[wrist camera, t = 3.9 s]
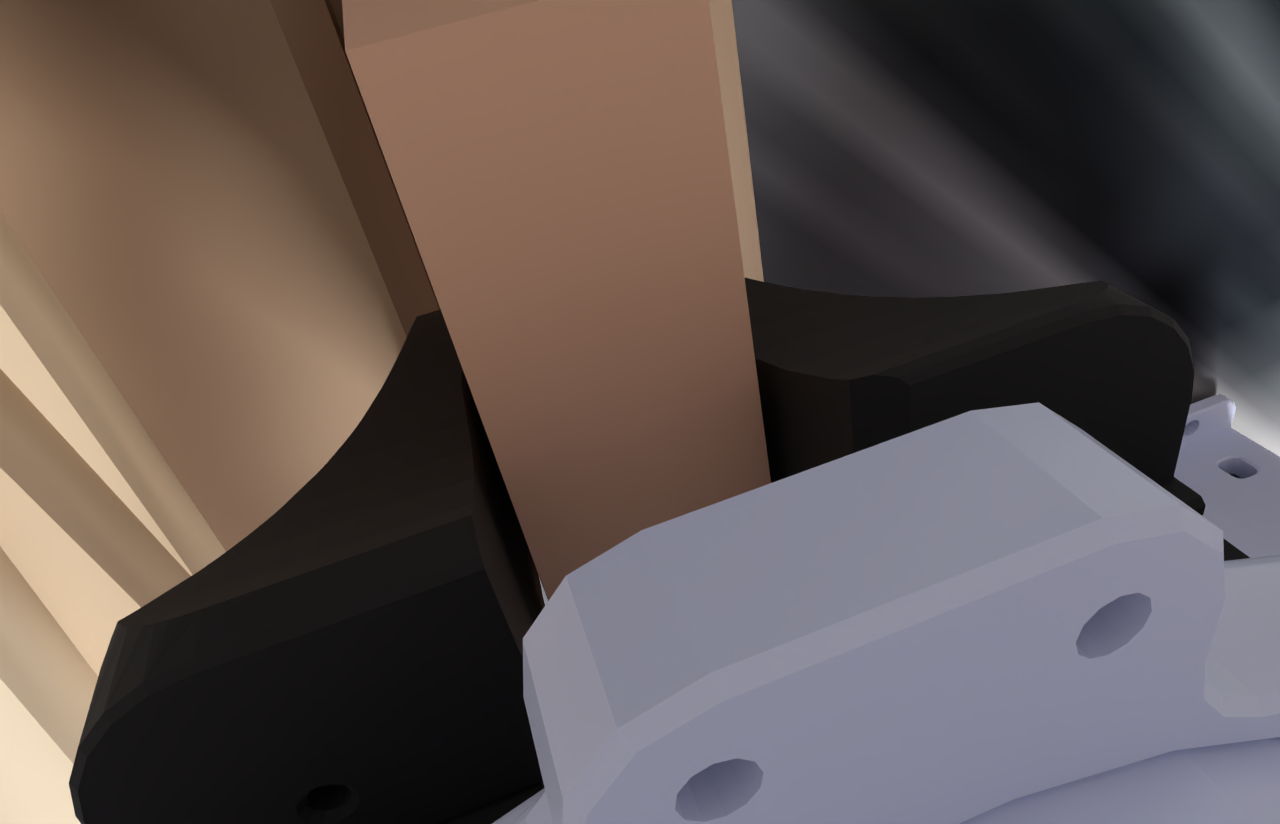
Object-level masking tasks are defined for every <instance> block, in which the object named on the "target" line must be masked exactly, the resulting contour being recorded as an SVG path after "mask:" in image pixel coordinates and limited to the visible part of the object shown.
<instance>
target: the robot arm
mask: <svg viewBox="0 0 1280 824" xmlns="http://www.w3.org/2000/svg"><path fill="white" fill-rule="evenodd" d="M745 285H746V293H747V301H748V308H749V316H750V324H751V332H752V339H753V347H754V355H755V363H756V370H757V378H758V386H759V393H760V401H761V409H762V417H763V424H764V432H765V440H766V448H767V455H768V463H769V471H770V479H771V483H770V484H767V485H765V486H762V487H759V488H756V489H754V490H751V491H748V492H745V493H743V494H740V495H737V496H734V497H732V498H729V499H726V500H723V501H721V502H718V503H715V504H712V505H710V506H707V507H704V508H701V509H699V510H696V511H693V512H690V513H688V514H685V515H682V516H679V517H676V518H674V519H671V520H668V521H665V522H663V523H660V524H657V525H654V526H652V527H649V528H646V529H643V530H641V531H639V532H638V533H636V534H634V535H633V536H631V537H629V538H628V539H626V540H624V541H623V542H621V543H619V544H618V545H616V546H614V547H613V548H611V549H609V550H608V551H606V552H604V553H603V554H601V555H600V556H598V557H596V558H595V559H593V560H591V561H590V562H588V563H586V564H585V565H583V566H581V567H580V568H578V569H576V570H575V571H573V572H571V573H570V574H568V575H566V576H565V578H564V579H563V581H562V582H561V584H560V585H559V586H558V588H557V589H556V591H555V592H554V594H553V595H552V597H551V598H550V600H549V601H548V602H547V604H546V605H545V604H544V600H543V596H542V590H541V585H540V580H539V574H538V571H537V569H536V566H535V563H534V561H533V558H532V555H531V553H530V550H529V547H528V544H527V542H526V539H525V536H524V534H523V531H522V528H521V525H520V523H519V520H518V517H517V515H516V512H515V509H514V507H513V504H512V501H511V498H510V496H509V493H508V490H507V488H506V485H505V482H504V479H503V477H502V474H501V471H500V469H499V466H498V463H497V461H496V458H495V455H494V452H493V450H492V447H491V444H490V442H489V439H488V436H487V433H486V431H485V428H484V425H483V423H482V420H481V417H480V414H479V412H478V409H477V406H476V404H475V401H474V398H473V396H472V393H471V390H470V387H469V385H468V382H467V379H466V377H465V374H464V371H463V368H462V366H461V363H460V360H459V358H458V355H457V352H456V350H455V347H454V344H453V341H452V339H451V336H450V333H449V331H448V328H447V325H446V322H445V320H444V317H443V314H442V312H441V309H440V310H437V311H433V312H430V313H427V314H424V315H420V316H417V317H416V319H415V321H414V323H413V325H412V326H411V328H410V330H409V333H408V335H407V337H406V339H405V342H404V344H403V346H402V348H401V350H400V353H399V355H398V357H397V359H396V361H395V363H394V365H393V367H392V369H391V371H390V373H389V375H388V377H387V379H386V380H385V382H384V384H383V386H382V388H381V390H380V391H379V393H378V394H377V396H376V398H375V399H374V401H373V402H372V404H371V406H370V407H369V409H368V410H367V412H366V414H365V415H364V417H363V418H362V420H361V421H360V423H359V424H358V425H357V427H356V428H355V429H354V431H353V432H352V433H351V435H350V436H349V437H348V439H347V440H346V441H345V442H344V443H343V445H342V446H341V447H340V448H339V449H338V450H337V452H336V453H335V454H334V455H333V456H332V458H331V459H330V460H329V461H328V462H327V463H326V464H325V465H324V467H323V468H322V469H321V470H320V471H319V472H318V473H317V474H316V475H315V476H314V477H313V478H312V479H311V480H310V481H308V482H307V483H306V484H305V485H304V486H303V487H302V488H301V489H300V490H299V491H298V492H297V493H296V494H295V495H294V496H293V497H292V498H291V499H290V500H289V501H288V502H287V503H286V504H285V505H283V506H282V507H281V508H280V509H279V510H278V511H277V512H276V513H275V514H274V515H272V516H271V517H270V518H269V519H268V520H266V521H265V522H264V523H263V524H261V525H260V526H259V527H258V528H256V529H255V530H254V531H253V532H252V533H250V534H249V535H248V536H247V537H245V538H244V539H243V540H241V541H240V542H239V543H237V544H236V545H235V546H233V547H232V548H230V549H229V550H228V551H226V552H225V553H224V554H222V555H221V556H220V557H218V558H217V559H216V560H214V561H213V562H211V563H210V564H208V565H207V566H206V567H204V568H203V569H201V570H200V571H198V572H197V573H195V574H193V575H192V576H190V577H189V578H187V579H186V580H184V581H182V582H181V583H179V584H178V585H176V586H174V587H173V588H171V589H170V590H168V591H167V592H165V593H163V594H162V595H160V596H159V597H157V598H155V599H154V600H152V601H151V602H149V603H148V604H146V605H144V606H143V607H141V608H140V609H138V610H136V611H135V612H133V613H131V614H130V615H128V616H126V617H124V618H123V619H121V620H119V621H118V622H117V624H116V627H115V630H114V632H113V635H112V637H111V640H110V643H109V646H108V649H107V652H106V654H105V657H104V660H103V663H102V666H101V669H100V672H99V676H98V679H97V683H96V686H95V690H94V693H93V696H92V700H91V703H90V707H89V710H88V714H87V717H86V721H85V724H84V728H83V731H82V735H81V738H80V742H79V745H78V749H77V753H76V757H75V761H74V764H73V768H72V772H71V776H70V780H69V788H70V792H71V797H72V802H73V807H74V812H75V816H76V818H77V819H78V820H79V822H80V823H81V824H1280V457H1279V456H1277V455H1276V454H1274V453H1272V452H1271V451H1269V450H1267V449H1266V448H1264V447H1262V446H1261V445H1259V444H1257V443H1256V442H1254V441H1252V440H1251V439H1249V438H1247V437H1245V436H1244V435H1242V434H1240V433H1239V432H1237V431H1235V430H1234V429H1232V428H1231V425H1232V421H1233V417H1234V414H1235V403H1234V401H1232V400H1231V399H1229V398H1227V397H1225V396H1223V395H1220V394H1219V395H1214V396H1211V397H1209V398H1206V399H1203V400H1201V401H1198V402H1196V403H1193V404H1191V399H1192V389H1193V379H1194V361H1193V356H1192V352H1191V347H1190V343H1189V339H1188V337H1187V336H1186V335H1185V333H1184V332H1183V331H1182V329H1181V328H1180V327H1179V325H1178V324H1177V323H1176V321H1175V320H1174V319H1173V318H1172V317H1170V316H1168V315H1166V314H1164V313H1162V312H1160V311H1158V310H1156V309H1155V308H1153V307H1151V306H1149V305H1147V304H1145V303H1143V302H1141V301H1140V300H1138V299H1136V298H1134V297H1132V296H1130V295H1128V294H1126V293H1124V292H1123V291H1121V290H1119V289H1117V288H1115V287H1113V286H1111V285H1109V284H1107V283H1106V282H1103V281H1095V282H1087V283H1080V284H1072V285H1065V286H1058V287H1050V288H1043V289H1035V290H1028V291H1021V292H1013V293H1004V294H991V295H975V296H960V297H935V298H899V297H867V296H853V295H841V294H834V293H826V292H818V291H810V290H802V289H796V288H791V287H785V286H780V285H776V284H771V283H767V282H762V281H758V280H753V279H749V278H745Z"/></svg>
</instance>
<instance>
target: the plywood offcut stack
mask: <svg viewBox="0 0 1280 824" xmlns="http://www.w3.org/2000/svg"><path fill="white" fill-rule="evenodd" d="M225 552H226V551H225V549H224V548H223V546H222V545H221V543H220V542H219V540H218V539H217V537H216V536H215V534H214V533H213V531H212V530H211V528H210V527H209V525H208V524H207V522H206V521H205V519H204V518H203V516H202V515H201V513H200V512H199V510H198V509H197V507H196V506H195V504H194V503H193V501H192V500H191V498H190V497H189V495H188V494H187V492H186V491H185V489H184V488H183V486H182V485H181V483H180V482H179V480H178V479H177V477H176V476H175V474H174V473H173V471H172V470H171V468H170V467H169V465H168V464H167V462H166V461H165V459H164V458H163V456H162V455H161V453H160V452H159V450H158V449H157V447H156V446H155V444H154V443H153V441H152V440H151V438H150V436H149V435H148V433H147V432H146V430H145V429H144V427H143V426H142V424H141V423H140V421H139V420H138V418H137V417H136V415H135V414H134V412H133V411H132V409H131V408H130V406H129V405H128V403H127V402H126V400H125V399H124V397H123V396H122V394H121V393H120V391H119V390H118V388H117V387H116V385H115V384H114V382H113V381H112V379H111V378H110V376H109V375H108V373H107V372H106V370H105V369H104V367H103V366H102V364H101V363H100V361H99V360H98V358H97V357H96V355H95V354H94V352H93V351H92V349H91V348H90V346H89V345H88V343H87V342H86V340H85V339H84V337H83V336H82V334H81V333H80V331H79V330H78V328H77V327H76V325H75V324H74V322H73V321H72V319H71V318H70V316H69V315H68V313H67V312H66V310H65V309H64V307H63V306H62V304H61V303H60V301H59V300H58V298H57V296H56V295H55V293H54V292H53V290H52V289H51V287H50V286H49V284H48V283H47V281H46V280H45V278H44V277H43V275H42V274H41V272H40V271H39V269H38V268H37V266H36V265H35V263H34V262H33V260H32V259H31V257H30V256H29V254H28V253H27V251H26V250H25V248H24V247H23V245H22V244H21V242H20V241H19V239H18V238H17V236H16V235H15V233H14V232H13V230H12V229H11V227H10V226H9V224H8V223H7V221H6V220H5V218H4V217H3V215H2V214H1V212H0V824H81V823H80V822H79V820H78V819H77V818H76V816H75V812H74V807H73V802H72V797H71V792H70V788H69V780H70V776H71V772H72V768H73V764H74V761H75V757H76V753H77V749H78V745H79V742H80V738H81V735H82V731H83V728H84V724H85V721H86V717H87V714H88V710H89V707H90V703H91V700H92V696H93V693H94V690H95V686H96V683H97V679H98V676H99V672H100V669H101V666H102V663H103V660H104V657H105V654H106V652H107V649H108V646H109V643H110V640H111V637H112V635H113V632H114V630H115V627H116V624H117V622H118V621H119V620H121V619H123V618H124V617H126V616H128V615H130V614H131V613H133V612H135V611H136V610H138V609H140V608H141V607H143V606H144V605H146V604H148V603H149V602H151V601H152V600H154V599H155V598H157V597H159V596H160V595H162V594H163V593H165V592H167V591H168V590H170V589H171V588H173V587H174V586H176V585H178V584H179V583H181V582H182V581H184V580H186V579H187V578H189V577H190V576H192V575H193V574H195V573H197V572H198V571H200V570H201V569H203V568H204V567H206V566H207V565H208V564H210V563H211V562H213V561H214V560H216V559H217V558H218V557H220V556H221V555H222V554H224V553H225Z"/></svg>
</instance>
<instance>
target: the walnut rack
mask: <svg viewBox="0 0 1280 824" xmlns="http://www.w3.org/2000/svg"><path fill="white" fill-rule="evenodd" d="M709 7H710V14H711V22H712V30H713V38H714V45H715V53H716V61H717V68H718V76H719V84H720V92H721V99H722V107H723V115H724V123H725V130H726V138H727V146H728V154H729V161H730V169H731V177H732V185H733V192H734V200H735V208H736V215H737V223H738V231H739V239H740V246H741V254H742V262H743V270H744V277H745V278H749V279H753V280H758V281H762V282H764V279H763V270H762V261H761V252H760V244H759V235H758V226H757V217H756V209H755V200H754V191H753V182H752V174H751V165H750V156H749V148H748V139H747V130H746V121H745V113H744V104H743V95H742V86H741V78H740V69H739V60H738V51H737V43H736V34H735V25H734V17H733V8H732V0H709ZM0 212H1V214H2V215H3V217H4V218H5V220H6V221H7V223H8V224H9V226H10V227H11V229H12V230H13V232H14V233H15V235H16V236H17V238H18V239H19V241H20V242H21V244H22V245H23V247H24V248H25V250H26V251H27V253H28V254H29V256H30V257H31V259H32V260H33V262H34V263H35V265H36V266H37V268H38V269H39V271H40V272H41V274H42V275H43V277H44V278H45V280H46V281H47V283H48V284H49V286H50V287H51V289H52V290H53V292H54V293H55V295H56V296H57V298H58V300H59V301H60V303H61V304H62V306H63V307H64V309H65V310H66V312H67V313H68V315H69V316H70V318H71V319H72V321H73V322H74V324H75V325H76V327H77V328H78V330H79V331H80V333H81V334H82V336H83V337H84V339H85V340H86V342H87V343H88V345H89V346H90V348H91V349H92V351H93V352H94V354H95V355H96V357H97V358H98V360H99V361H100V363H101V364H102V366H103V367H104V369H105V370H106V372H107V373H108V375H109V376H110V378H111V379H112V381H113V382H114V384H115V385H116V387H117V388H118V390H119V391H120V393H121V394H122V396H123V397H124V399H125V400H126V402H127V403H128V405H129V406H130V408H131V409H132V411H133V412H134V414H135V415H136V417H137V418H138V420H139V421H140V423H141V424H142V426H143V427H144V429H145V430H146V432H147V433H148V435H149V436H150V438H151V440H152V441H153V443H154V444H155V446H156V447H157V449H158V450H159V452H160V453H161V455H162V456H163V458H164V459H165V461H166V462H167V464H168V465H169V467H170V468H171V470H172V471H173V473H174V474H175V476H176V477H177V479H178V480H179V482H180V483H181V485H182V486H183V488H184V489H185V491H186V492H187V494H188V495H189V497H190V498H191V500H192V501H193V503H194V504H195V506H196V507H197V509H198V510H199V512H200V513H201V515H202V516H203V518H204V519H205V521H206V522H207V524H208V525H209V527H210V528H211V530H212V531H213V533H214V534H215V536H216V537H217V539H218V540H219V542H220V543H221V545H222V546H223V548H224V549H225V551H228V550H229V549H230V548H232V547H233V546H235V545H236V544H237V543H239V542H240V541H241V540H243V539H244V538H245V537H247V536H248V535H249V534H250V533H252V532H253V531H254V530H255V529H256V528H258V527H259V526H260V525H261V524H263V523H264V522H265V521H266V520H268V519H269V518H270V517H271V516H272V515H274V514H275V513H276V512H277V511H278V510H279V509H280V508H281V507H282V506H283V505H285V504H286V503H287V502H288V501H289V500H290V499H291V498H292V497H293V496H294V495H295V494H296V493H297V492H298V491H299V490H300V489H301V488H302V487H303V486H304V485H305V484H306V483H307V482H308V481H310V480H311V479H312V478H313V477H314V476H315V475H316V474H317V473H318V472H319V471H320V470H321V469H322V468H323V467H324V465H325V464H326V463H327V462H328V461H329V460H330V459H331V458H332V456H333V455H334V454H335V453H336V452H337V450H338V449H339V448H340V447H341V446H342V445H343V443H344V442H345V441H346V440H347V439H348V437H349V436H350V435H351V433H352V432H353V431H354V429H355V428H356V427H357V425H358V424H359V423H360V421H361V420H362V418H363V417H364V415H365V414H366V412H367V410H368V409H369V407H370V406H371V404H372V402H373V401H374V399H375V398H376V396H377V394H378V393H379V391H380V390H381V388H382V386H383V384H384V382H385V380H386V379H387V377H388V375H389V373H390V371H391V369H392V367H393V365H394V363H395V361H396V359H397V357H398V355H399V353H400V350H401V348H402V346H403V344H404V342H405V339H406V337H407V335H408V333H409V330H410V328H411V326H412V325H413V323H414V321H415V319H416V317H417V316H420V315H424V314H427V313H430V312H433V311H437V310H440V306H439V304H438V301H437V298H436V295H435V293H434V290H433V287H432V285H431V282H430V279H429V276H428V274H427V271H426V268H425V266H424V263H423V260H422V258H421V255H420V252H419V249H418V247H417V244H416V241H415V239H414V236H413V233H412V230H411V228H410V225H409V222H408V220H407V217H406V214H405V211H404V209H403V206H402V203H401V201H400V198H399V195H398V193H397V190H396V187H395V184H394V182H393V179H392V176H391V174H390V171H389V168H388V165H387V163H386V160H385V157H384V155H383V152H382V149H381V147H380V144H379V141H378V138H377V136H376V133H375V130H374V128H373V125H372V122H371V119H370V117H369V114H368V111H367V109H366V106H365V103H364V101H363V98H362V95H361V92H360V90H359V87H358V84H357V82H356V79H355V76H354V73H353V71H352V68H351V65H350V63H349V60H348V57H347V54H346V52H345V40H344V24H343V8H342V0H0Z"/></svg>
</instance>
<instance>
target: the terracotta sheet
mask: <svg viewBox="0 0 1280 824" xmlns="http://www.w3.org/2000/svg"><path fill="white" fill-rule="evenodd" d="M342 8H343V24H344V40H345V52H346V54H347V57H348V60H349V63H350V65H351V68H352V71H353V73H354V76H355V79H356V82H357V84H358V87H359V90H360V92H361V95H362V98H363V101H364V103H365V106H366V109H367V111H368V114H369V117H370V119H371V122H372V125H373V128H374V130H375V133H376V136H377V138H378V141H379V144H380V147H381V149H382V152H383V155H384V157H385V160H386V163H387V165H388V168H389V171H390V174H391V176H392V179H393V182H394V184H395V187H396V190H397V193H398V195H399V198H400V201H401V203H402V206H403V209H404V211H405V214H406V217H407V220H408V222H409V225H410V228H411V230H412V233H413V236H414V239H415V241H416V244H417V247H418V249H419V252H420V255H421V258H422V260H423V263H424V266H425V268H426V271H427V274H428V276H429V279H430V282H431V285H432V287H433V290H434V293H435V295H436V298H437V301H438V304H439V306H440V309H441V312H442V314H443V317H444V320H445V322H446V325H447V328H448V331H449V333H450V336H451V339H452V341H453V344H454V347H455V350H456V352H457V355H458V358H459V360H460V363H461V366H462V368H463V371H464V374H465V377H466V379H467V382H468V385H469V387H470V390H471V393H472V396H473V398H474V401H475V404H476V406H477V409H478V412H479V414H480V417H481V420H482V423H483V425H484V428H485V431H486V433H487V436H488V439H489V442H490V444H491V447H492V450H493V452H494V455H495V458H496V461H497V463H498V466H499V469H500V471H501V474H502V477H503V479H504V482H505V485H506V488H507V490H508V493H509V496H510V498H511V501H512V504H513V507H514V509H515V512H516V515H517V517H518V520H519V523H520V525H521V528H522V531H523V534H524V536H525V539H526V542H527V544H528V547H529V550H530V553H531V555H532V558H533V561H534V563H535V566H536V569H537V571H538V574H539V577H540V580H541V582H542V585H543V588H544V590H545V593H546V596H547V599H548V601H549V600H550V598H551V597H552V595H553V594H554V592H555V591H556V589H557V588H558V586H559V585H560V584H561V582H562V581H563V579H564V578H565V576H566V575H568V574H570V573H571V572H573V571H575V570H576V569H578V568H580V567H581V566H583V565H585V564H586V563H588V562H590V561H591V560H593V559H595V558H596V557H598V556H600V555H601V554H603V553H604V552H606V551H608V550H609V549H611V548H613V547H614V546H616V545H618V544H619V543H621V542H623V541H624V540H626V539H628V538H629V537H631V536H633V535H634V534H636V533H638V532H639V531H641V530H643V529H646V528H649V527H652V526H654V525H657V524H660V523H663V522H665V521H668V520H671V519H674V518H676V517H679V516H682V515H685V514H688V513H690V512H693V511H696V510H699V509H701V508H704V507H707V506H710V505H712V504H715V503H718V502H721V501H723V500H726V499H729V498H732V497H734V496H737V495H740V494H743V493H745V492H748V491H751V490H754V489H756V488H759V487H762V486H765V485H767V484H770V483H771V479H770V471H769V463H768V455H767V448H766V440H765V432H764V424H763V417H762V409H761V401H760V393H759V386H758V378H757V370H756V363H755V355H754V347H753V339H752V332H751V324H750V316H749V308H748V301H747V293H746V285H745V277H744V270H743V262H742V254H741V246H740V239H739V231H738V223H737V215H736V208H735V200H734V192H733V185H732V177H731V169H730V161H729V154H728V146H727V138H726V130H725V123H724V115H723V107H722V99H721V92H720V84H719V76H718V68H717V61H716V53H715V45H714V38H713V30H712V22H711V14H710V7H709V0H342Z"/></svg>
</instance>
